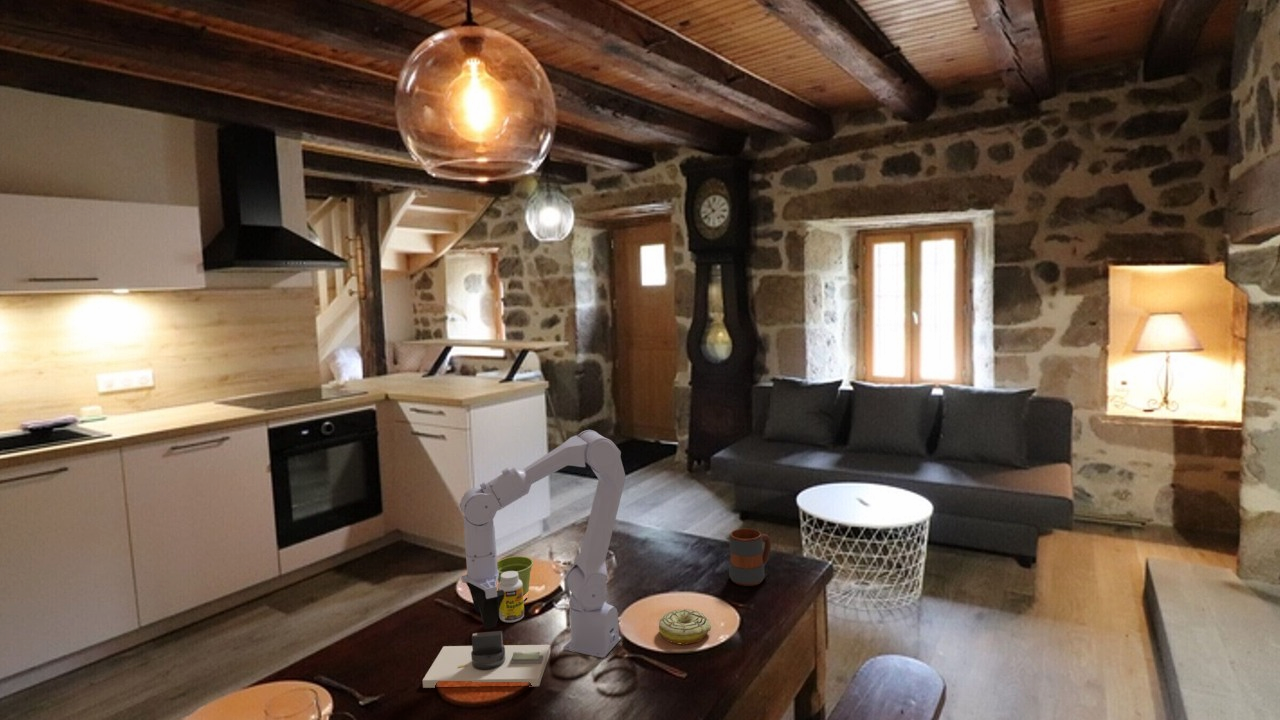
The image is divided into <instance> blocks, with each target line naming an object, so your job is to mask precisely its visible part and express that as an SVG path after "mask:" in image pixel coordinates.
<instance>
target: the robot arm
mask: <svg viewBox="0 0 1280 720" xmlns="http://www.w3.org/2000/svg"><path fill="white" fill-rule="evenodd" d="M621 454H622V452H621V450H620V449H619V448H618V446H617V445H616V444H615V443H614V442H613V440H611V439H609V438H607V437H604V436H603V435H601V434H599V432H598V431H595V430H592V429H587V430H584V431H583V430H582V431H581V432H580V433H579V434H577V435H573V436H570V437H569V438H568V439H566V440H565V441H564V442H563V443H561V444H560V445H558V446H557V447H556V448H554V449H552V450H550V452H548V453H546V454H545V455H543V456H541V457H540V458H538V459H537V460H536V461H534V462H532V463H531V464H529V465H527V466H526V467H524V468H522V469H521V468H517V467H512V468H511V469H509V468H505V469H503V470H501V474H500V475H499V476H496V477H495V478H493V479H492V480H490V481H488V482H486V483H485V482H482V483H480V484H479V487H473V488H471V489H468V490H467V491H466V492H465V493H464V494H463V496H462V497H461V500H460V502H459V508H460V511H462V513H463V514H464V516H463V518H464V519H463V521H464V522H463V526H464V530H463V535H464V547H465V559H466V560H465V561H466V563H465V564H466V574H464V575H461V576H460V580H461V582H462V583H463V584H466V586H467V587H468V590H469V593H470V596H471V599H472V603H473V606H474V609H475V611H476V613H480V616H481V621H482V625H483V626H484V629H485V630H489V629H493V628H496V627H497V624H498V619H499V608H500V605H501V602H502V600H503V598H504V596H505V592H504V591H503V590H499V591H498V584H497V583H498V577H499V571H498V569H497V561H498V558H497V557H498V556H497V555H498V554H497V544H496V543H497V542H496V530H495V529H496V528H495V525H494V518H495V516H496V514H497V512H498V511H500V510H503V509H504V508H506V507H508V506H509V505H511V504H512V503H514V502H516V501H517V500H519V499H521V498H522V497H524V496H526V495H528V494H529V492H530V489H531V486H532V485H533V484H534V483H536V482H538V481H540V480H542V479H545V478H546V477H548V476H550V475H552V474H554V473H556V472H558V471H560V470H562V469H563V468H566V467H567V466H572V467H579V468H586V464H587V465H588V466H589V467H590V468H591V470H592V472H593V473H594V475H595V476H596V477H597V479H598V480H597V485H596V489H595V494H594V497H593V502H592V506H591V510H590V514H589V517H588V522H587V525H586V530H585V534H584V536H583V542H582V545H581V548H580V549H581V551H580V553H579V554H578V555H576V556H575V558H574V560H573V564H572V566H571V567H570V569H568V570H567V573H566V576H565V579H564V580H565V582H564V583H565V586H566V589H568V590H569V592H570V598H569V601H568V603H569V620H570V621H569V622H570V639H569V641H568V642H566V644H565V645H563V647H562V649H563V650H565V651H569V652H574V653H578V654H583V655H588V656H592V657H597V658H600V659H601V658H602V659H604V658H605V657H606V656H607V655H608V654H609V653H610V651H612V649H614V647H615V646H616V645H617V644H618V643H619V641H621V639H622V637H621V636H620V635H619V633H620V631H619V613H618V609H617V608H616V606H613V605H610V604H609V603H608V602H606V601H607V598H608V588H607V587H608V586H607V581H608V570H607V565H606V559H607V555H608V551H609V546H610V543H611V539H612V535H613V530H614V527H615V523H616V520H617V515H618V510H619V506H620V503H621V498H622V494H623V491H624V486H625V482H626V473H625V469H624V466H623V462H622V458H621V456H622V455H621Z"/></svg>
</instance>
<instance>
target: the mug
mask: <svg viewBox="0 0 1280 720" xmlns="http://www.w3.org/2000/svg"><path fill="white" fill-rule="evenodd" d="M763 541H764V547H763ZM771 545H772V541H771V538H770V536H769V535H768V534H766V533H763V534H762V533H761V532H760V531H759V530H757V529H753V528H738V529H734V530H732V531H731V532H730V533H729V552H730V560H729V564H728V565H729V566H728V567H729V569H728V571H729V572H728V574H729V578H730V579H731V581H732V583H734V584H736V585H738V586H743V587H753V586H754V587H755V586H758V585H760V584H761V583H762V582H763V580H764V579H765V575H766V574H765V573H766V572H765V566H766V564H767V563H768V561H769V558H770V555H771V554H770V553H771V547H772V546H771Z"/></svg>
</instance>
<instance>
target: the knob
mask: <svg viewBox="0 0 1280 720" xmlns="http://www.w3.org/2000/svg"><path fill="white" fill-rule="evenodd" d="M471 644H472V645H471V646H472V649H473V651H472V652H471V657H472V666H473V667H474V668H476V669H479V670H490V669H494V668H496V667H499V666H500V665H502V664H503V663H504V661H505V647H504V646H503V645H504V641H503V630H494V631H485V632H483V631H482V632H473V633H472V635H471Z"/></svg>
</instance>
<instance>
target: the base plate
mask: <svg viewBox="0 0 1280 720" xmlns="http://www.w3.org/2000/svg"><path fill="white" fill-rule="evenodd" d="M503 646H504V647H505V661H504V663H503V664H502V665H500V666H499V667H496V668H494V669H490V670H479V669H476V668H474V667H473V666H472V657H471V652H472V651H473V649H472V645H454V646H453V645H448V646H447V645H446V646H445V645H444V646H442V648H441V650H440V652H439V653H438V655H437V656H436V658H435V659H434V660H433V663H432V664H431V666H430V668H429V669H428V671H427V672H426V674H425V676H424V677H423V679H422V688H423V689H424V688H425V689H428V688H429V689H431V688H433V689H434V688H435V685H436V683H437V682H438V681H472V682H479V681H480V682H481V681H482V682H530V683H531V685H532V686H531V687H540V685H541V681H542V678H543V675H544V672H545V670H546V667H547V663H548V660H549V658H550V654H551V645H550V644H525V645H524V644H517V645H516V644H507V645H504V644H503Z"/></svg>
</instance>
